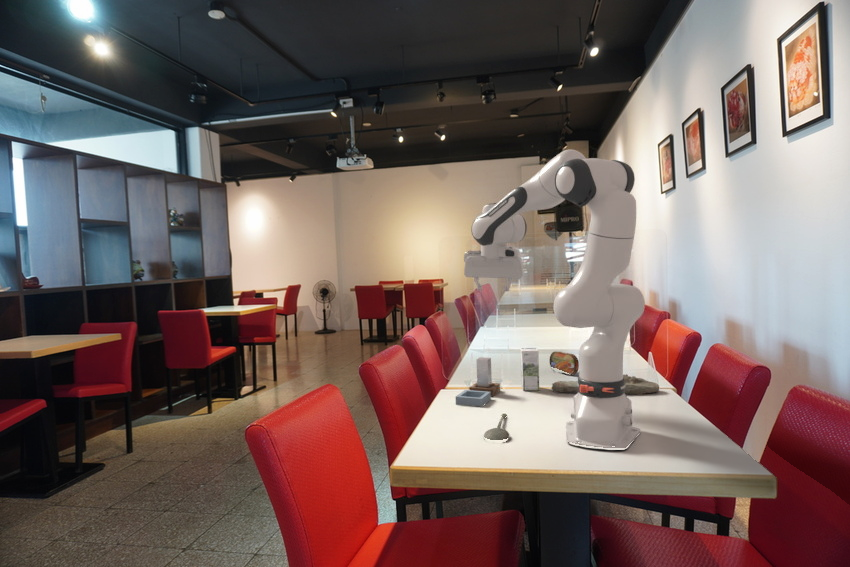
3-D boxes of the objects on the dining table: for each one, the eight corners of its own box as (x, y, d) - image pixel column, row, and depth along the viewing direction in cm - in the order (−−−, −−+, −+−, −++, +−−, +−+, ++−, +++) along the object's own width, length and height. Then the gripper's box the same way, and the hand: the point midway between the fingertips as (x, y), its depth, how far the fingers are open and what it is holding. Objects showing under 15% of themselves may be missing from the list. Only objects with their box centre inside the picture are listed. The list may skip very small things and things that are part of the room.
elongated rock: (551, 391, 186) (553, 400, 177) (550, 376, 186) (551, 385, 176) (655, 386, 179) (662, 396, 170) (654, 372, 179) (661, 380, 169)
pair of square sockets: (482, 406, 165) (481, 398, 165) (455, 404, 169) (455, 396, 169) (500, 390, 184) (500, 383, 184) (476, 388, 188) (476, 381, 188)
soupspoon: (481, 447, 133) (507, 449, 132) (481, 434, 133) (507, 437, 131) (493, 417, 155) (516, 419, 153) (493, 406, 154) (516, 408, 152)
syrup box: (537, 386, 187) (536, 346, 186) (539, 391, 181) (538, 349, 180) (521, 387, 188) (520, 347, 187) (523, 391, 182) (521, 350, 181)
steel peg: (488, 394, 179) (487, 360, 179) (477, 393, 181) (476, 359, 180) (492, 391, 183) (490, 357, 182) (481, 390, 185) (480, 357, 184)
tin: (549, 370, 213) (548, 350, 213) (555, 369, 214) (554, 349, 214) (574, 377, 199) (573, 355, 199) (580, 376, 201) (580, 354, 200)
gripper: (462, 251, 178) (462, 291, 180) (522, 252, 173) (521, 293, 175) (465, 249, 184) (465, 288, 186) (524, 250, 179) (523, 289, 181)
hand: (493, 290), depth 181 cm, fingers open, 8 cm apart
